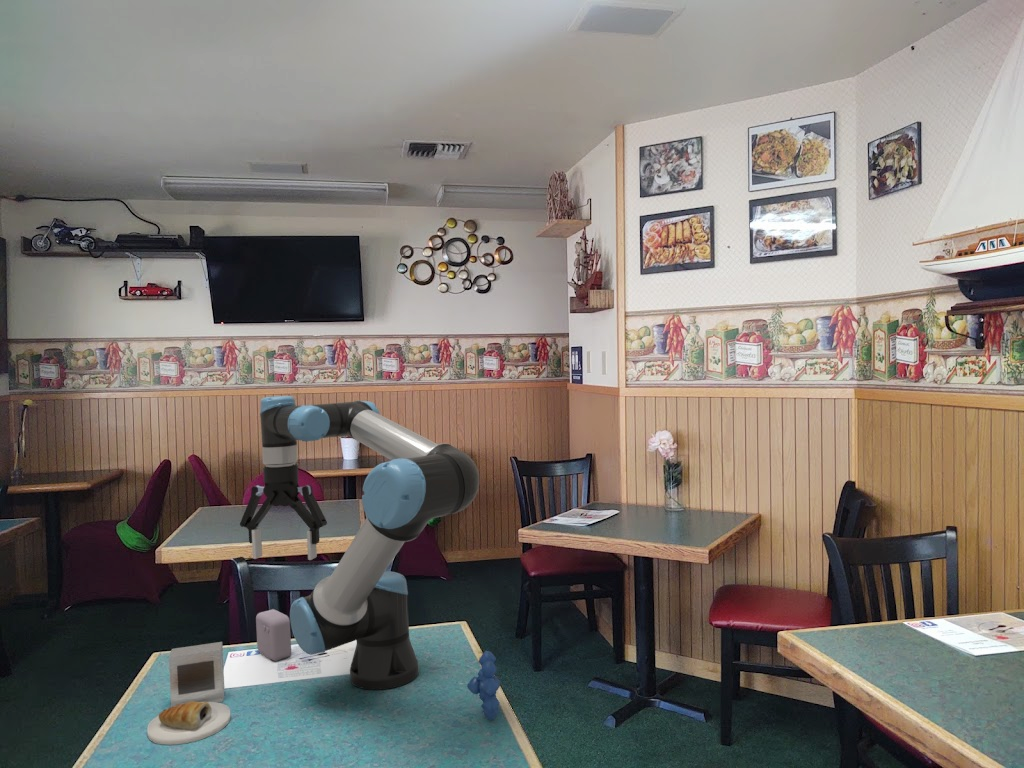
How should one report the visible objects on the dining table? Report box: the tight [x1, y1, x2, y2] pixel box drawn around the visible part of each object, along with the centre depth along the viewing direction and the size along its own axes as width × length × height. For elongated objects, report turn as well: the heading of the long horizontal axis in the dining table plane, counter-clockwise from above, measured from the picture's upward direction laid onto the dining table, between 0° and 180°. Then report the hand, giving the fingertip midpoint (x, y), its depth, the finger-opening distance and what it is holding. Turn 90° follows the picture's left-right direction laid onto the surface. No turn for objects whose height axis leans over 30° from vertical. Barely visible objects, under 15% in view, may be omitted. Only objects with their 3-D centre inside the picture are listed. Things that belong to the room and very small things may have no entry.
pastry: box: [158, 701, 212, 730], centre depth 145 cm, size 9×7×4 cm
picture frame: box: [168, 641, 226, 708], centre depth 157 cm, size 10×6×11 cm, turn 108°
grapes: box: [466, 650, 502, 721], centre depth 146 cm, size 12×7×12 cm, turn 6°
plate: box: [146, 702, 231, 746], centre depth 146 cm, size 15×15×1 cm
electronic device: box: [255, 608, 292, 662], centre depth 181 cm, size 10×5×10 cm, turn 43°
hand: (284, 557), depth 168 cm, fingers open, 13 cm apart
